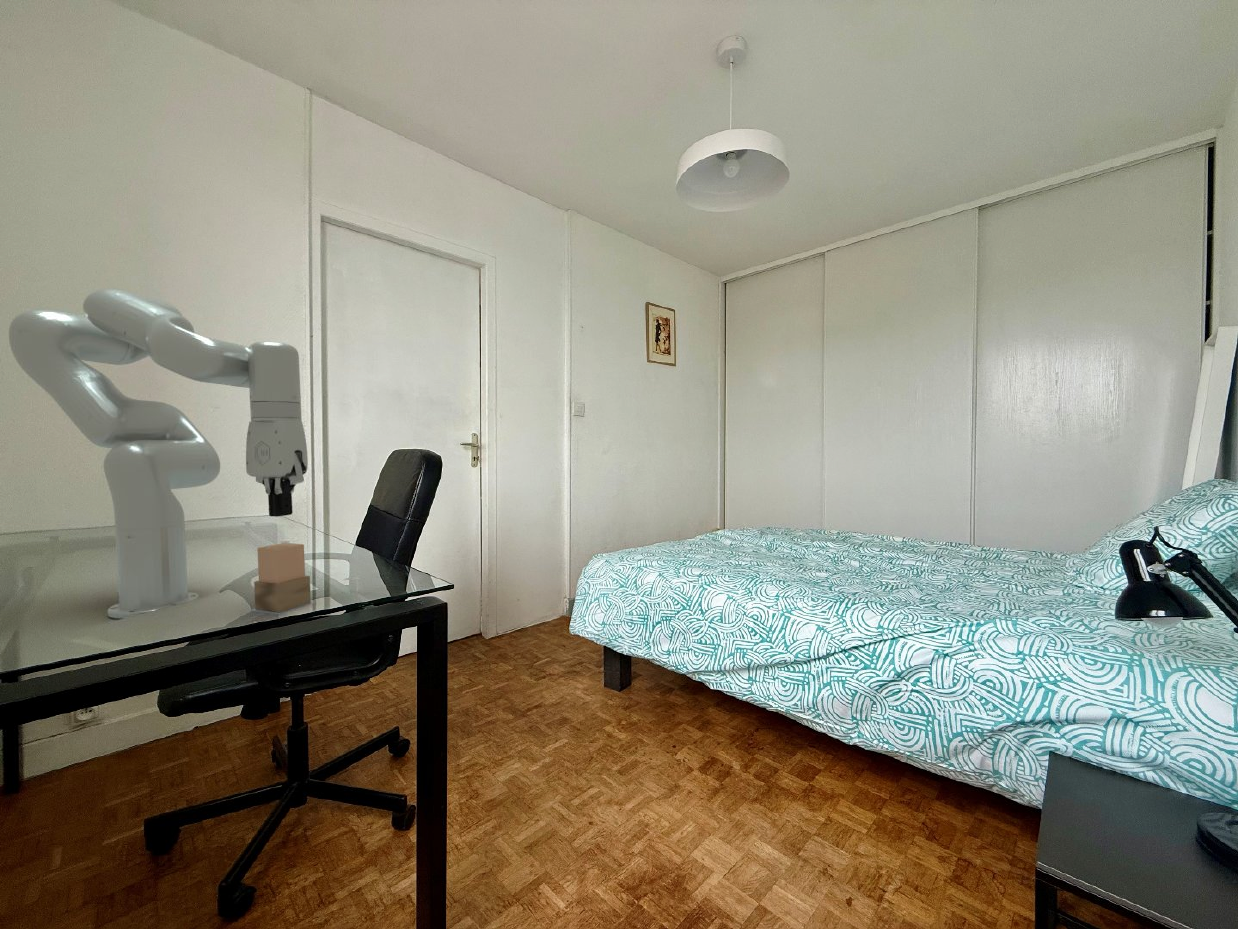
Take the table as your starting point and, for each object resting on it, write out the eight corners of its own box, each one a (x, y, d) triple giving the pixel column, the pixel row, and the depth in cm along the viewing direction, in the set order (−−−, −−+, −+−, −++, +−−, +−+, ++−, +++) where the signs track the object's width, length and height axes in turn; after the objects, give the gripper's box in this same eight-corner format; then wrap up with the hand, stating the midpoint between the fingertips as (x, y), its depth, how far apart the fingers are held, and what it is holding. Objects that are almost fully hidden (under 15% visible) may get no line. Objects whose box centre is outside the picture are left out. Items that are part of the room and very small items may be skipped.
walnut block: (255, 609, 89) (254, 581, 89) (287, 599, 95) (286, 573, 95) (279, 613, 87) (277, 584, 87) (310, 602, 93) (309, 576, 93)
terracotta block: (258, 581, 90) (257, 547, 89) (286, 574, 94) (284, 542, 94) (278, 583, 88) (277, 549, 87) (305, 576, 92) (303, 544, 92)
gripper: (226, 413, 89) (230, 517, 89) (285, 410, 84) (290, 520, 84) (268, 415, 96) (272, 511, 97) (326, 413, 91) (330, 514, 91)
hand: (281, 515), depth 90 cm, fingers closed
